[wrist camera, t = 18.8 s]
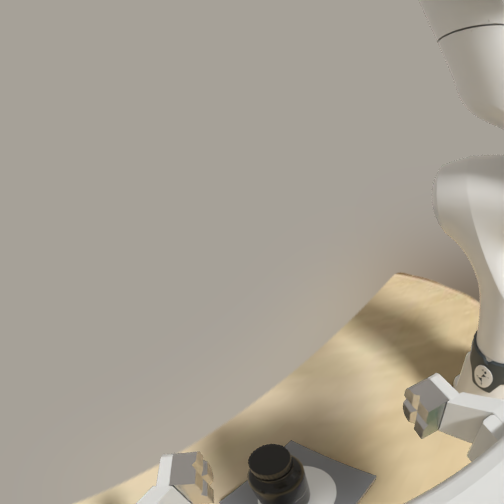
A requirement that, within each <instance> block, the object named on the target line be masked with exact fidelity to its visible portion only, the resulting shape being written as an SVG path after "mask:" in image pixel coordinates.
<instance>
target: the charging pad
mask: <svg viewBox="0 0 504 504" xmlns="http://www.w3.org/2000/svg"><path fill="white" fill-rule="evenodd" d="M285 448H286V449H287V450H288V451H289V452H290V454H291V455H293V456H295V457H296V458H297V459H299V460H300V462H301V463H302V465H303V467H304V470H305V474H306V478H307V482H308V485H309V489H310V500H309V502H308V504H358V503H359V501H360V500H361V499H362V498H363V496H364V495H365V494H366V492H367V491H368V490H369V488H370V487H371V485H372V484H373V483H374V481H375V480H376V476H375V475H372V474H369V473H367V472H364V471H361V470H358V469H356V468H353V467H350V466H348V465H345V464H343V463H340V462H338V461H335V460H333V459H331V458H328V457H326V456H324V455H321V454H319V453H317V452H315V451H313V450H310V449H308V448H306V447H304V446H302V445H300V444H298V443H296V442H294V441H292V440H291V441H290V442H289V443H288V444H287V445H286V446H285ZM219 503H220V504H261V503H260V501H259V500H258V498H257V497H256V495H255V493H254V492H253V490H252V489H251V487H250V485H249V483H248V480H247V481H246V482H244V483H243V484H242V485H241V486H240V487H238V488H237V489H236V490H234V491H233V492H232V493H231V494H229V495H228V496H227V497H225V498H224V499H223V500H221V501H220V502H219Z"/></svg>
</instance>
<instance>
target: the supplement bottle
mask: <svg viewBox="0 0 504 504" xmlns="http://www.w3.org/2000/svg"><path fill="white" fill-rule="evenodd" d="M248 461H249V462H248V464H249V468H250V469H249V471H248V483H249V485H250V487H251V489H252V490H253V492H254V493H255V495H256V497H257V498H258V500H259V501H260V503H261V504H308V502H309V500H310V489H309V485H308V482H307V478H306V474H305V470H304V467H303V465H302V463H301V462H300V460H299V459H297V458H296V457H295V456H293V455H291V454H290V452H289V451H288V450H287V449H286V448H285V447H283V446H280V445H276V444H270V445H268V444H267V445H263V446H262V447H259V448H258V449H256V450H255V451H253V453H252V454H251V456H250V457H249V460H248Z"/></svg>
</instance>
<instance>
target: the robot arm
mask: <svg viewBox="0 0 504 504" xmlns="http://www.w3.org/2000/svg"><path fill="white" fill-rule="evenodd" d="M419 3H420V5H421V7H422V9H423V12H424V14H425V16H426V18H427V20H428V22H429V25H430V27H431V29H432V31H433V34H434V36H435V38H436V40H437V42H438V44H439V47H440V49H441V51H442V53H443V55H444V58H445V60H446V62H447V65H448V67H449V70H450V73H451V75H452V77H453V80H454V83H455V86H456V88H457V91H458V94H459V97H460V99H461V101H462V102H463V104H464V105H465V107H466V108H467V109H468V110H469V111H470V112H471V113H472V114H474V115H475V116H477V117H478V118H480V119H482V120H484V121H486V122H488V123H490V124H492V125H495V126H497V127H499V128H501V129H503V130H504V4H503V2H502V1H501V0H419ZM432 205H433V209H434V213H435V216H436V219H437V221H438V223H439V225H440V226H441V228H442V229H443V231H444V232H445V233H446V234H447V235H448V236H450V237H451V238H452V239H453V240H454V241H455V242H456V243H457V244H458V245H459V246H460V247H461V248H462V250H463V251H464V253H465V254H466V255H467V257H468V259H469V261H470V262H471V264H472V267H473V269H474V271H475V274H476V277H477V280H478V284H479V290H480V311H479V323H478V330H477V331H476V333H475V335H474V339H473V341H472V346H471V351H470V352H468V353H467V355H466V357H465V361H464V364H463V367H462V370H461V373H460V374H459V375H458V376H456V377H455V379H454V382H453V386H454V388H453V387H452V386H451V385H450V384H449V383H448V382H447V381H446V380H445V379H444V378H443V377H442V376H441V375H440V374H439V373H435V374H433V375H432V376H430V377H428V378H426V379H424V380H422V381H420V382H418V383H417V384H415V385H413V386H411V387H409V388H407V389H406V390H405V394H404V396H405V397H406V400H405V401H404V403H403V410H404V414H405V416H406V418H407V420H408V421H409V422H411V423H414V424H415V426H414V430H415V431H416V432H417V434H418V435H419V436H420V438H421V439H423V438H425V437H427V436H428V435H430V434H432V433H434V432H435V431H437V430H439V431H441V432H443V433H446V434H448V435H451V436H454V437H456V438H459V439H461V440H464V441H467V442H470V443H472V446H471V448H470V449H469V451H468V454H467V456H468V458H469V459H470V460H471V463H469V464H468V465H466V466H465V467H464V468H462V469H461V470H459V471H458V472H456V473H455V474H454V475H452V476H451V477H449V478H447V479H446V480H444V481H443V482H441V483H440V484H438V485H436V486H435V487H433V488H431V489H429V490H428V491H426V492H424V493H422V494H421V495H419V496H417V497H415V498H413V499H411V500H409V501H407V502H406V503H404V504H504V155H481V156H470V157H466V158H463V159H459V160H456V161H453V162H450V163H447V164H444V165H442V166H441V168H440V169H439V171H438V173H437V175H436V177H435V180H434V183H433V188H432ZM212 482H213V473H212V469H211V467H210V465H209V463H208V462H207V461H204V460H203V455H202V454H201V452H191V453H177V454H163V455H162V456H161V459H160V465H159V471H158V477H157V484H156V486H152V488H151V489H150V490H149V491H148V492H147V493H146V494H145V495H144V496H143V497H142V498H141V499H140V500H139V501H138V502H137V503H136V504H209V503H214V498H213V489H212V488H211V487H210V485H211V484H212Z"/></svg>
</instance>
